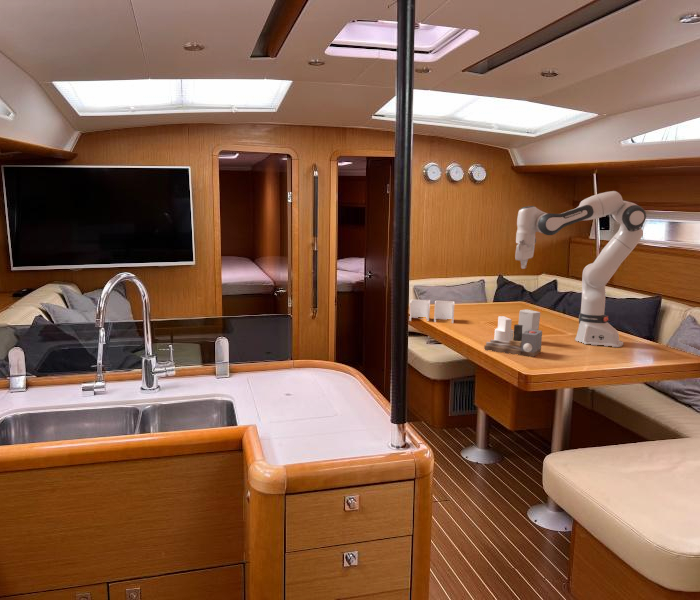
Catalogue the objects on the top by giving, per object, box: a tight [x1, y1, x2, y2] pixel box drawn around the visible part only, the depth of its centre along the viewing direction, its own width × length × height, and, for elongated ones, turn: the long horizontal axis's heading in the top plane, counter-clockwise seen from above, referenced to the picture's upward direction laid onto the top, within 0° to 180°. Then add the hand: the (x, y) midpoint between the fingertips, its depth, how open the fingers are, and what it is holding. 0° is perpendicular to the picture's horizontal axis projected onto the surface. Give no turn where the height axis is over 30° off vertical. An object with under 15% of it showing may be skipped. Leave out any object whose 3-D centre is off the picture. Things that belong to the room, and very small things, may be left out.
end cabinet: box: [520, 329, 543, 357], centre depth 285 cm, size 6×12×10 cm, turn 149°
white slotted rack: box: [408, 298, 455, 324], centre depth 360 cm, size 25×11×11 cm, turn 80°
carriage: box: [509, 323, 523, 347], centre depth 288 cm, size 5×8×9 cm, turn 149°
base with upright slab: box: [493, 315, 514, 342], centre depth 308 cm, size 9×9×12 cm
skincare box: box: [517, 308, 541, 333], centre depth 309 cm, size 8×7×16 cm
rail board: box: [483, 339, 542, 358], centre depth 290 cm, size 23×12×3 cm, turn 59°
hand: (523, 268), depth 304 cm, fingers closed
